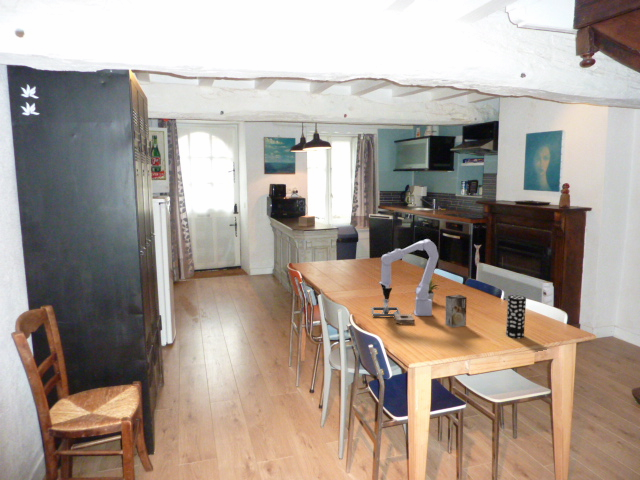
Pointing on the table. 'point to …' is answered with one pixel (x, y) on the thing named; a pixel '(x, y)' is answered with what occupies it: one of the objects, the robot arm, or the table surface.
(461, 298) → the coffee box
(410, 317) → the pin block
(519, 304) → the white-spotted black cylinder
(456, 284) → the table surface
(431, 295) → the house plant
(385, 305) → the pin
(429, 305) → the robot arm
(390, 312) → the tray
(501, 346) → the table surface
